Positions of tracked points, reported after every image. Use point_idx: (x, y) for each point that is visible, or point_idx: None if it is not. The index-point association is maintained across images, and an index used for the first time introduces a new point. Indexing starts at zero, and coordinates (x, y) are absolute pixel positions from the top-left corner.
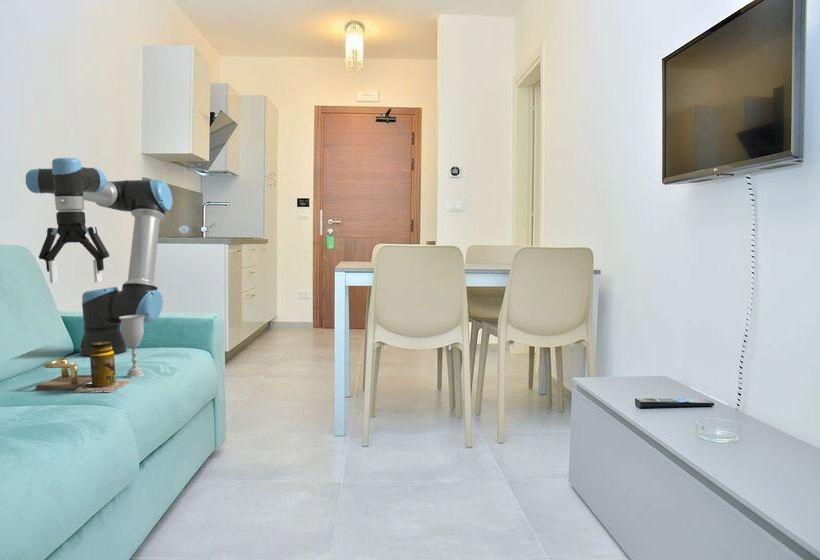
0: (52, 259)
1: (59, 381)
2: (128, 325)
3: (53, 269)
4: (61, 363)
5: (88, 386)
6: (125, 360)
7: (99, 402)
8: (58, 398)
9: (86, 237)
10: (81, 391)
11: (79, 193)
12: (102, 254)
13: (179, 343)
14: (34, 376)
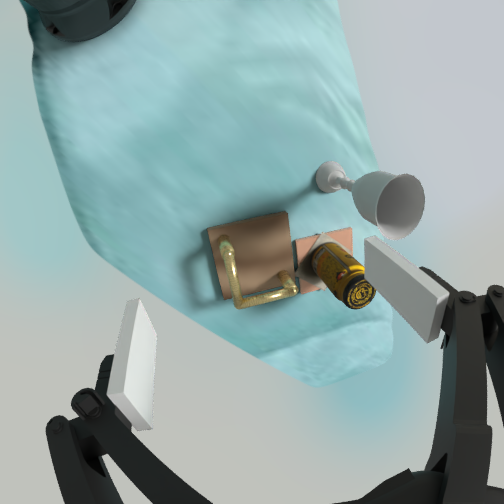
0: (117, 415)
1: (241, 269)
2: (392, 226)
3: (146, 375)
4: (272, 300)
5: (309, 273)
6: (207, 47)
7: (361, 313)
8: (297, 318)
9: (487, 460)
10: (311, 290)
11: None
12: (487, 337)
13: None
14: (124, 221)
